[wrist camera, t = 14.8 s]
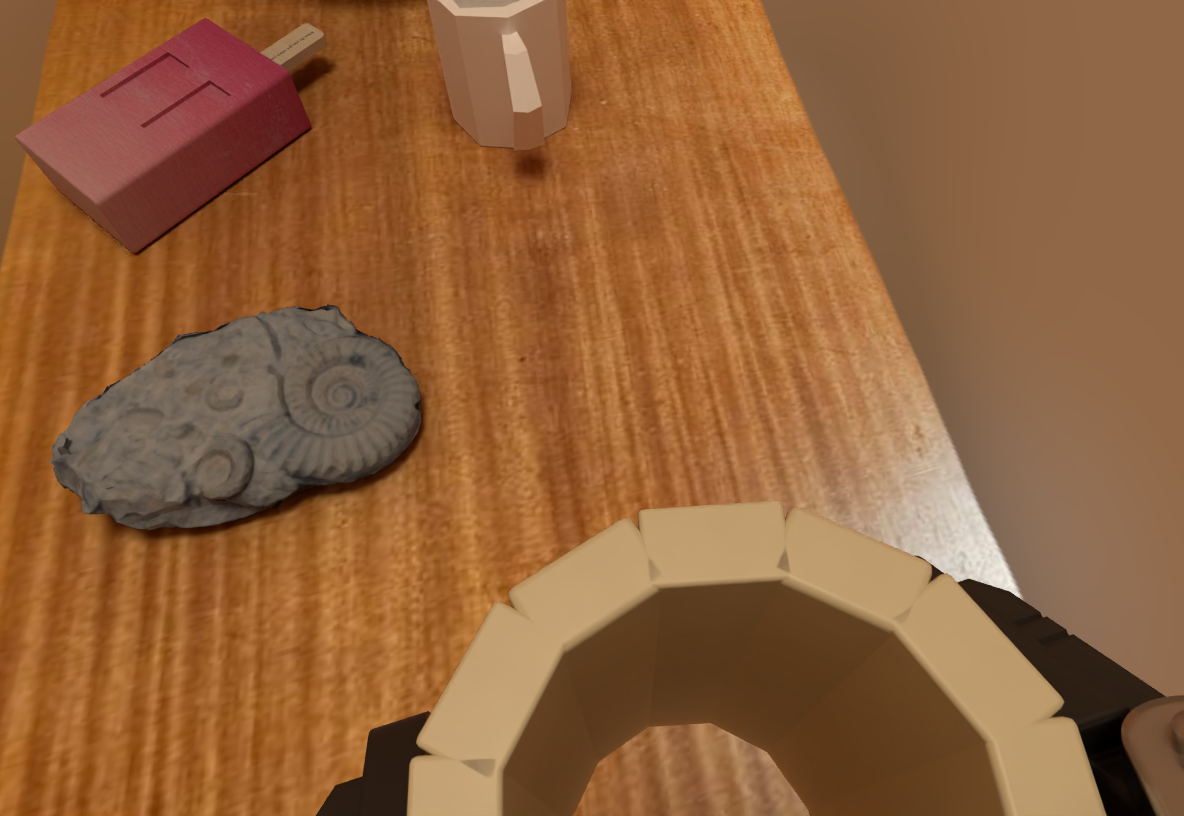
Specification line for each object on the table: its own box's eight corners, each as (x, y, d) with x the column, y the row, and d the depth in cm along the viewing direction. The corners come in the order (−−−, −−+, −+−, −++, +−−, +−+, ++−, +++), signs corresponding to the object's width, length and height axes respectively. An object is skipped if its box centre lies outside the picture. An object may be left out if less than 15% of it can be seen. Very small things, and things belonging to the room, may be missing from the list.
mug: (442, 82, 59) (412, -50, 51) (557, 57, 60) (546, -77, 52) (477, 200, 54) (450, 73, 45) (603, 171, 55) (600, 41, 46)
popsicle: (350, 28, 55) (94, 202, 48) (369, 88, 59) (136, 256, 52) (263, -23, 58) (11, 133, 51) (287, 37, 62) (57, 189, 55)
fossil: (453, 436, 45) (440, 399, 42) (147, 630, 40) (103, 607, 37) (342, 289, 50) (322, 246, 47) (59, 445, 45) (13, 409, 42)
